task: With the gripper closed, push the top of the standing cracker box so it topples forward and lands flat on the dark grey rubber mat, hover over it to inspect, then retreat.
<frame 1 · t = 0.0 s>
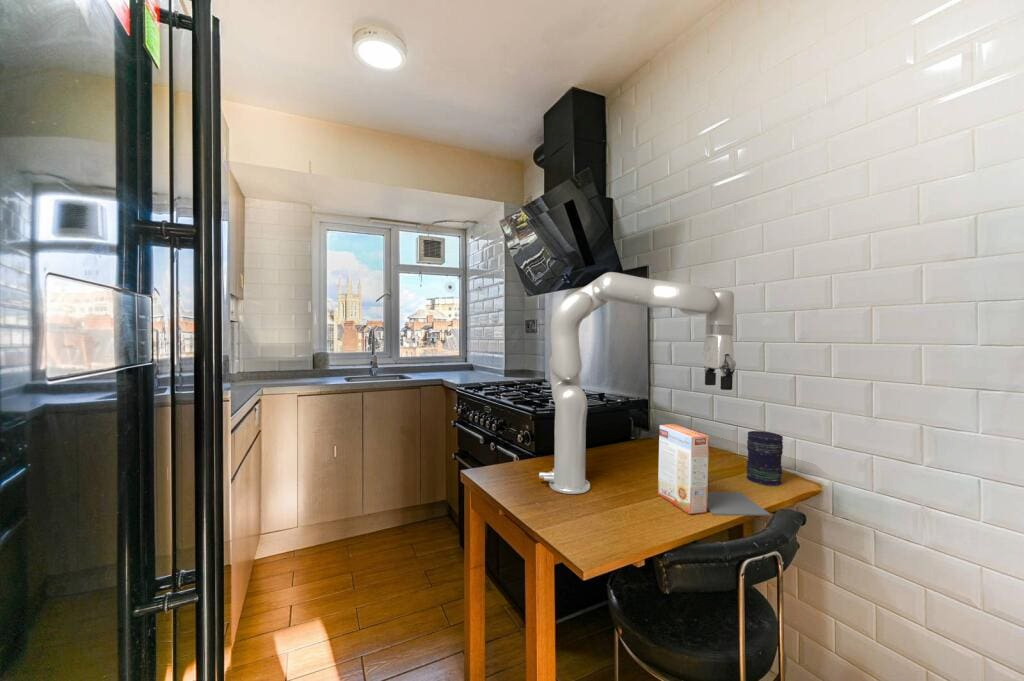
hand: (717, 387, 123), 31 cm above the table, tool pointing down, fingers open, 9 cm apart
storage jar: (763, 481, 130), on the table
cracker box: (681, 503, 113), on the table
mat: (727, 503, 113), on the table
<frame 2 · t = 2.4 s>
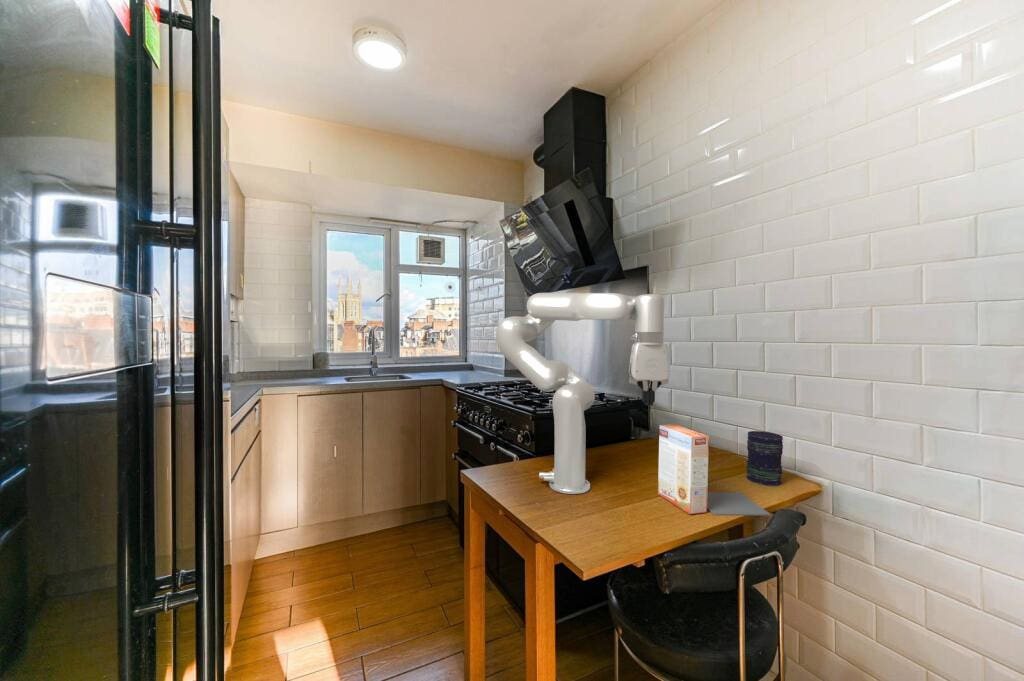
hand: (648, 404, 112), 28 cm above the table, tool pointing down, fingers closed
nothing on the table moved.
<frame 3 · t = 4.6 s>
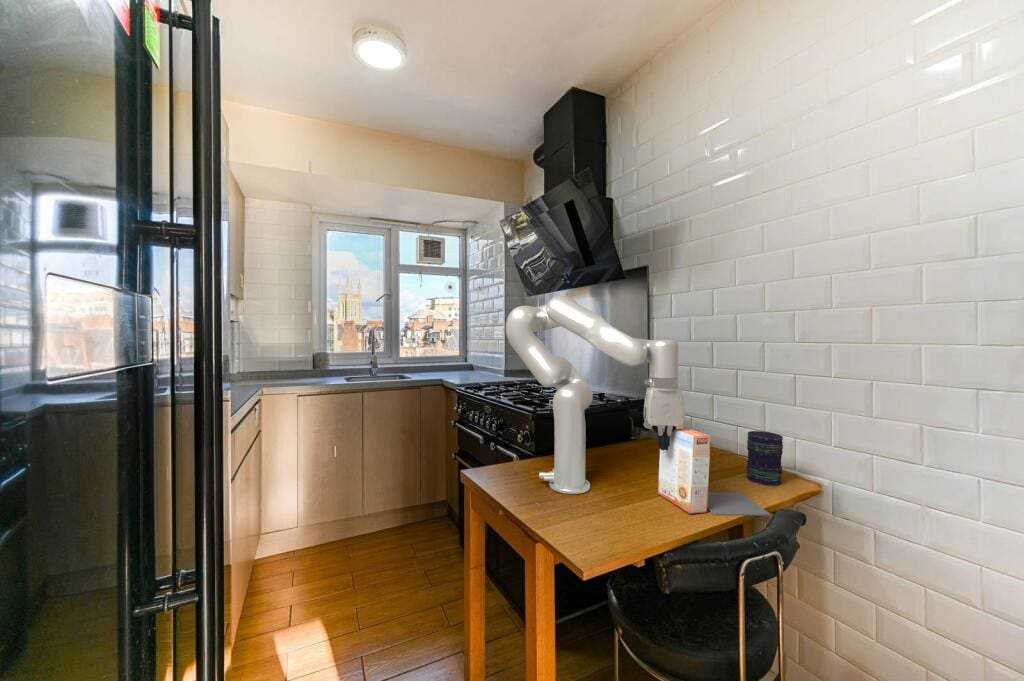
hand: (663, 448, 112), 15 cm above the table, tool pointing down, fingers closed
cracker box: (681, 503, 113), on the table, touching gripper
everything else where it was.
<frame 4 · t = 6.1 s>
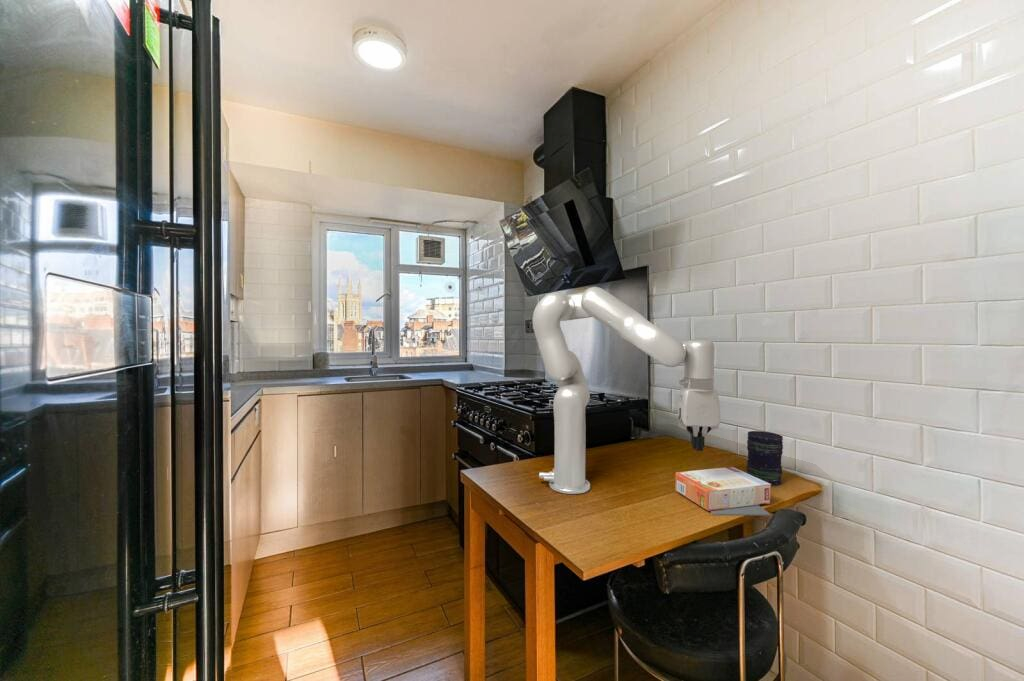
hand: (697, 449, 112), 15 cm above the table, tool pointing down, fingers closed
cracker box: (689, 491, 113), point 3 cm above the table, touching mat
everything else where it was.
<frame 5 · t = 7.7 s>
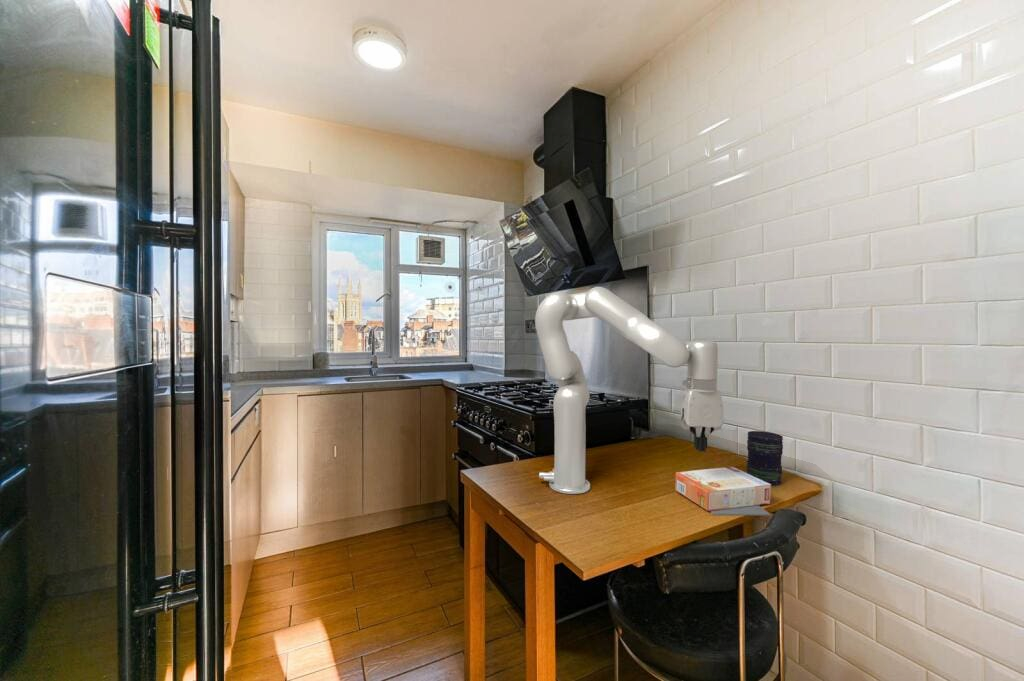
hand: (700, 450, 112), 15 cm above the table, tool pointing down, fingers closed
nothing on the table moved.
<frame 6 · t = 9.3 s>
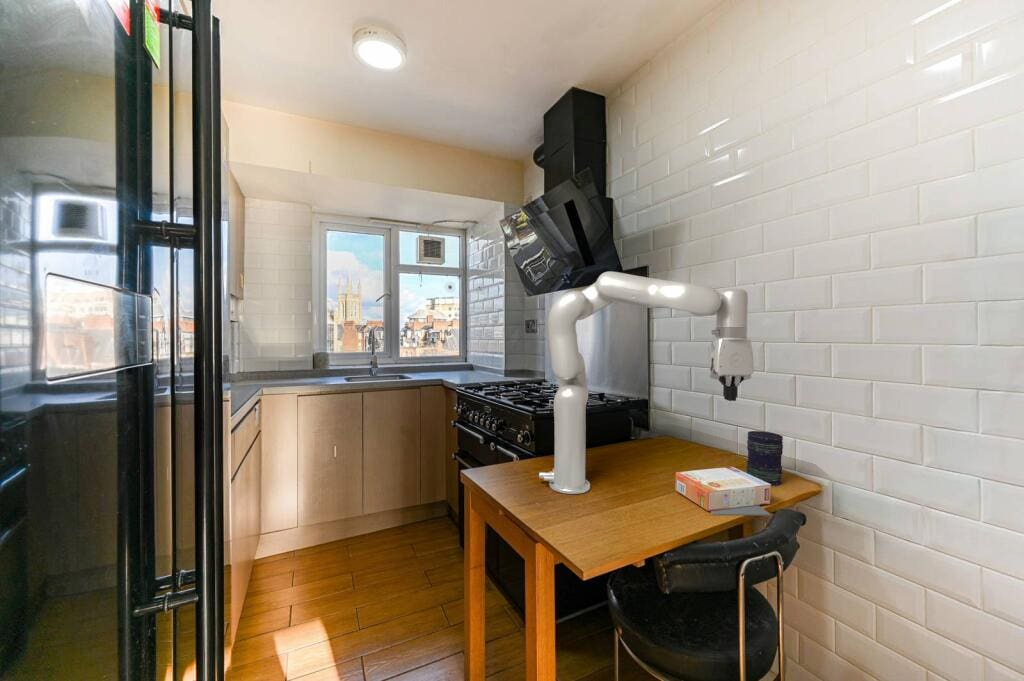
hand: (730, 399, 112), 29 cm above the table, tool pointing down, fingers closed
nothing on the table moved.
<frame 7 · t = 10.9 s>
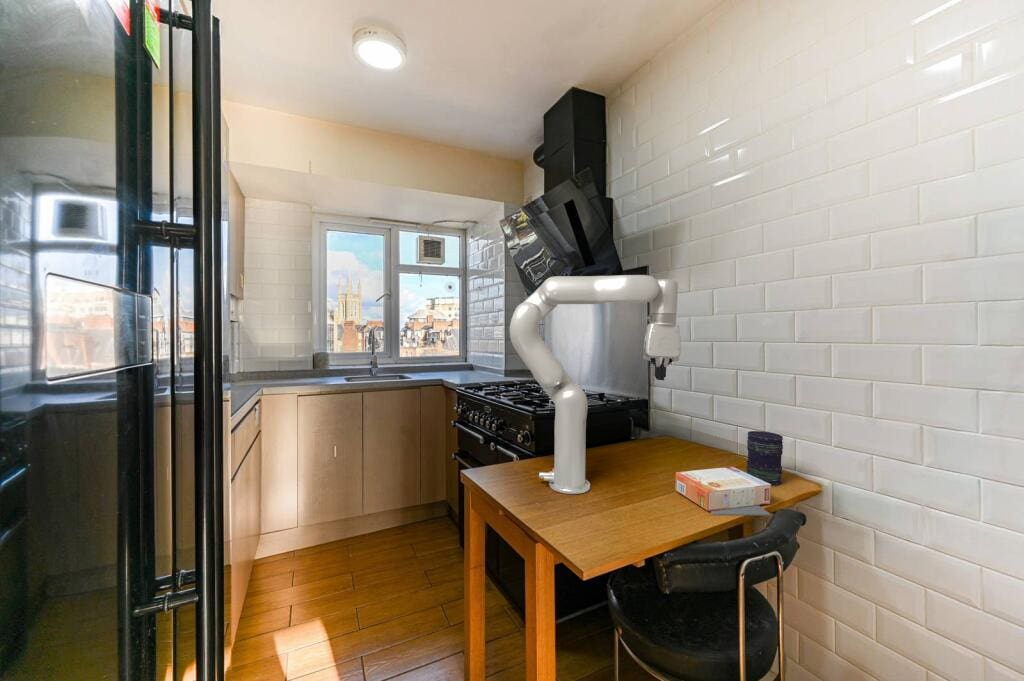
hand: (659, 379, 124), 33 cm above the table, tool pointing down, fingers closed
nothing on the table moved.
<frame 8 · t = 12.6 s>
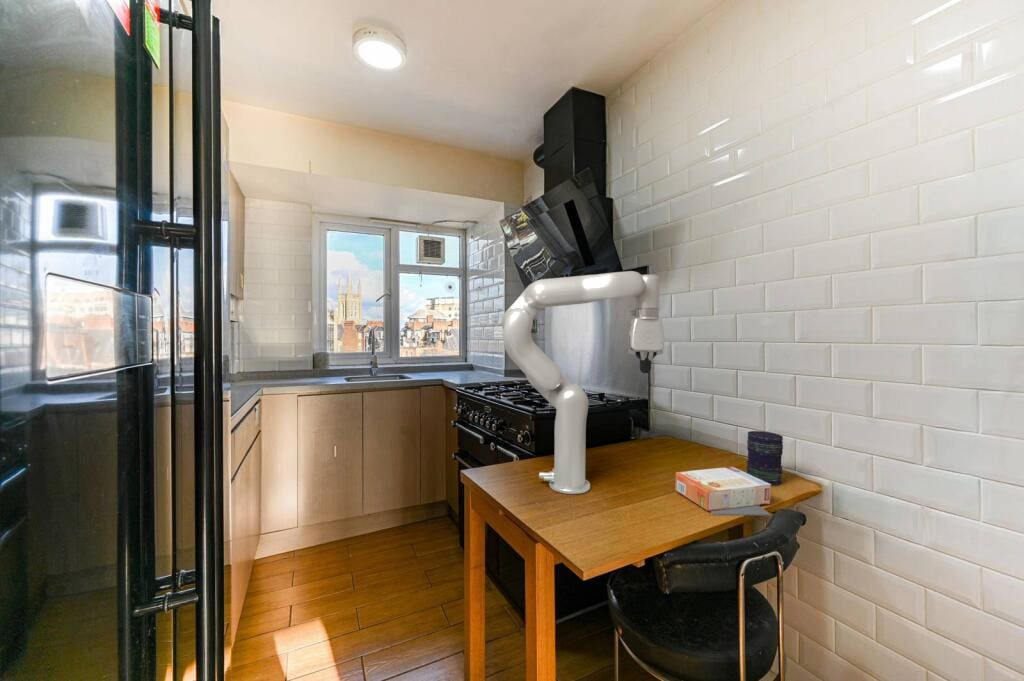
hand: (645, 372, 127), 35 cm above the table, tool pointing down, fingers closed
nothing on the table moved.
at the end: cracker box tilted 89°; cracker box inside the target area (5.6 cm from its centre), point 3.2 cm above the table; the gripper is holding nothing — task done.
